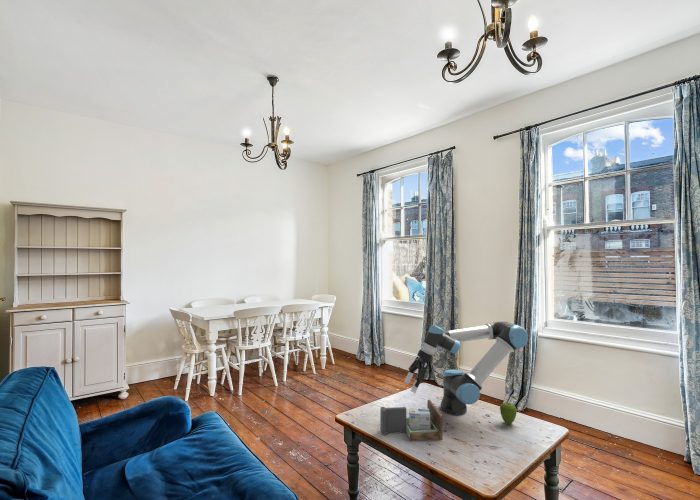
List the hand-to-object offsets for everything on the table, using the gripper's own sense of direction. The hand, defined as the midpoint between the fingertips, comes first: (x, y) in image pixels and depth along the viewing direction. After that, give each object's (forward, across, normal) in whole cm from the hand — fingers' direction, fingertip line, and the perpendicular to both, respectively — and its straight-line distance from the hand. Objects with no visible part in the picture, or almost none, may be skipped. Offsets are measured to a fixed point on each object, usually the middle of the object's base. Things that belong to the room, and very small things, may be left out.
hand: (409, 387), depth 197 cm
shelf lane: (+16, +7, +13) cm, 22 cm away
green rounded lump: (-7, +4, +58) cm, 58 cm away
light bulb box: (+17, +7, +12) cm, 22 cm away
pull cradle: (+19, +7, +6) cm, 21 cm away
